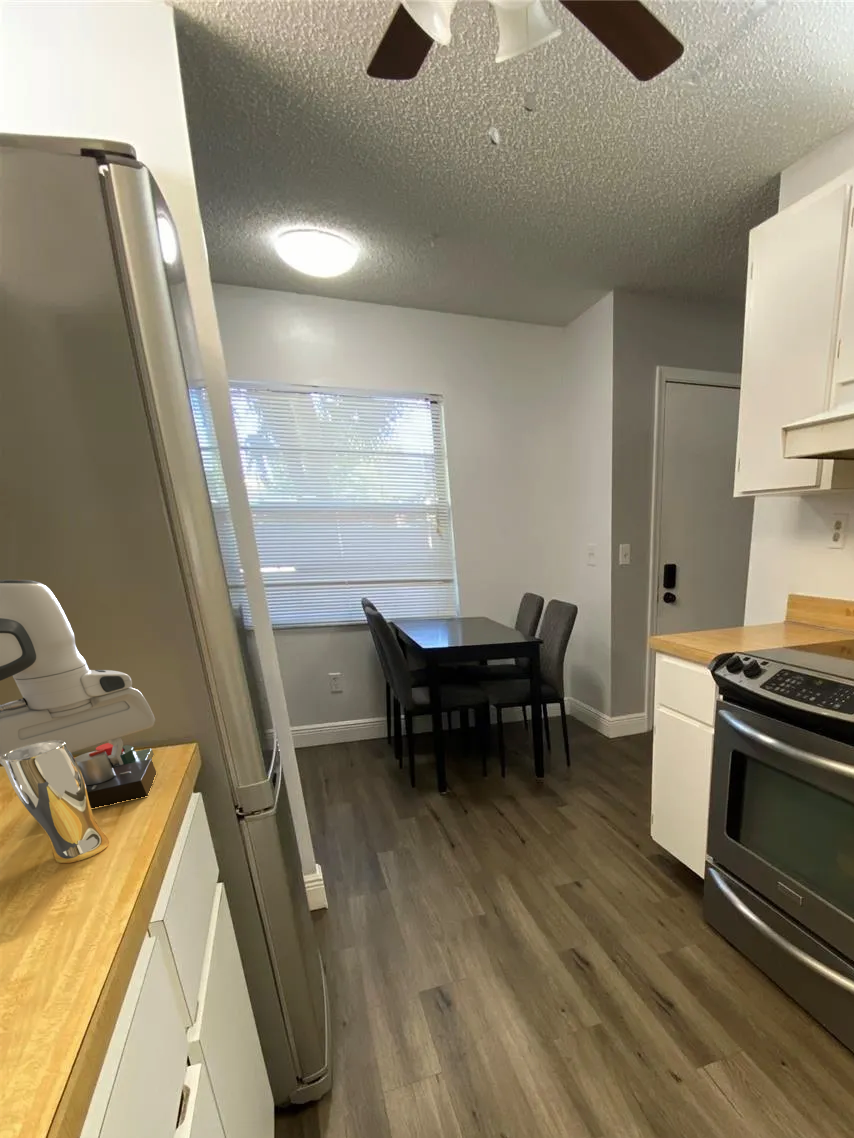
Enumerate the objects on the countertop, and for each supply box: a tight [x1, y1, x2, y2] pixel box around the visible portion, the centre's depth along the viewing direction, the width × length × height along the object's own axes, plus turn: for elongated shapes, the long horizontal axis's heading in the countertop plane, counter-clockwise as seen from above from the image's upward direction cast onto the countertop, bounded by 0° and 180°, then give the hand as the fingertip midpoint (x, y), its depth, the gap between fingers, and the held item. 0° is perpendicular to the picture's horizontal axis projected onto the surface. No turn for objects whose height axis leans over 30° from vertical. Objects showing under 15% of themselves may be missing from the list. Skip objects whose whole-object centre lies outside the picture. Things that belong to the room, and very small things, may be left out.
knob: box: [74, 749, 116, 785], centre depth 100 cm, size 4×4×4 cm
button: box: [95, 742, 123, 756], centre depth 109 cm, size 4×4×2 cm
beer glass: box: [1, 740, 110, 864], centre depth 83 cm, size 7×7×15 cm
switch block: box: [120, 744, 155, 765], centre depth 110 cm, size 10×8×4 cm
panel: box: [86, 759, 157, 808], centre depth 102 cm, size 13×10×3 cm
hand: (97, 772), depth 101 cm, fingers closed on knob, 4 cm apart
